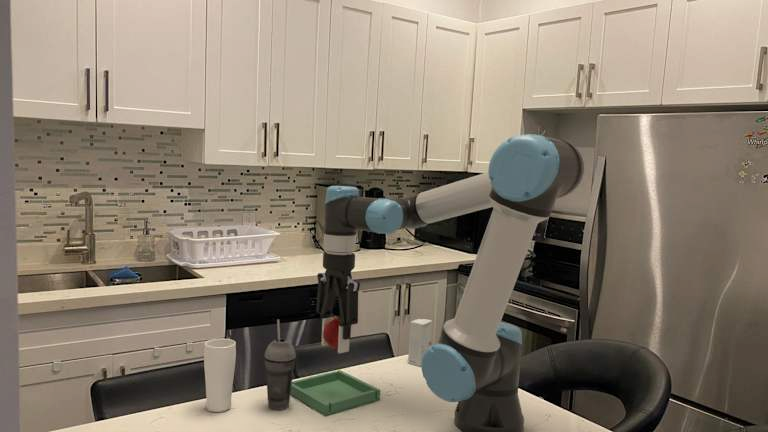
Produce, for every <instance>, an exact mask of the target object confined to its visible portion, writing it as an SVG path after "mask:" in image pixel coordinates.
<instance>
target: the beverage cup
mask: <svg viewBox="0 0 768 432" xmlns="http://www.w3.org/2000/svg"><path fill="white" fill-rule="evenodd" d="M276 323H277V339H274V340H272V341H271V342H270V343H269V344H268V346H267V347H266V350H265V352H264V356H263V359H264V366H265V372H266V391H267V393H266V394H267V404H268V405H267V406H268V408H269V410H272V411H276V412H277V411H285V410H287V409H288V408H289V404H290V401H291V400H290V399H291V395H290V393H291V385H292V381H293V376H294V375H293V374H294V368H295V364H296V360H297V353H296V349H295V347H294V345H293V344H292V342H291V341H289V340H288V339H285V338H281V326H280V319H276Z"/></svg>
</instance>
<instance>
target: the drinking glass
mask: <svg viewBox="0 0 768 432" xmlns="http://www.w3.org/2000/svg"><path fill="white" fill-rule="evenodd" d="M236 349H237V344H236V341H235V340H233V339H230V338H212V339H209V340H207V341H205V343H204V349H203V350H204V353H203V355H204V356H203V364H204V365H203V367H204V379H205V380H204V381H205V396H206V402H205V403H206V409H207V411H209V412H213V413H222V412H226V411H228V410H229V409H230V408H231V406H232V395H233V386H234V377H235V369H236V359H237V350H236Z"/></svg>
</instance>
